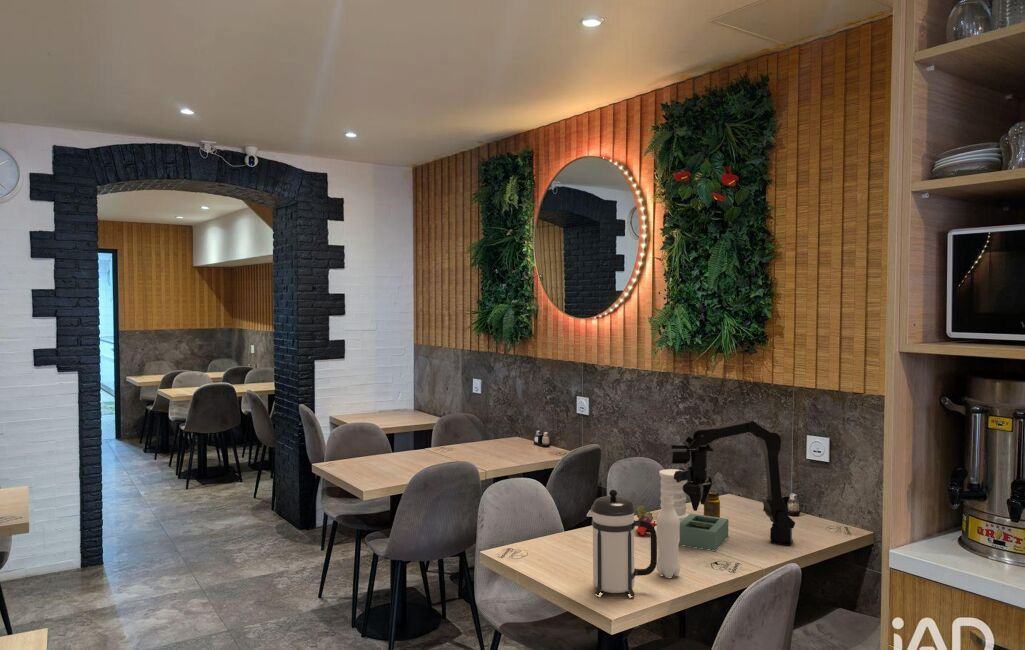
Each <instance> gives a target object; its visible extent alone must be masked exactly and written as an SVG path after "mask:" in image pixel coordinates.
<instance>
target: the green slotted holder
mask: <svg viewBox="0 0 1025 650" xmlns="http://www.w3.org/2000/svg"><path fill="white" fill-rule="evenodd" d="M696 525H699V526H706V527H711V528H710V529H709V530H707V529H700V528H696ZM727 537H728V538H729V518H725V517H720V518H719V517H712V516H705V515H704V514H703V515H702V514H698V513H697V514H696V513H689V514H688V516H687V517H686V518H684V519H683V520H682V521H680V541H679V545H678V546H681V545H685V546H684V547H687V546H691V547H690V548H693V547H697V548H696V549H699V548H703V549H702V550H705V549H710V550H715V551H714V552H717V550H718V549H719V548H720V547H721V546H722V544H723V543H725V541H726V540H727V539H728V538H727ZM726 538H727V539H726ZM725 539H726V540H725ZM720 545H721V546H720ZM719 546H720V547H719ZM718 547H719V548H718ZM717 548H718V549H717ZM716 549H717V550H716ZM710 550H709V551H710Z"/></svg>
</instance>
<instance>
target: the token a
mask: <svg viewBox="0 0 1025 650" xmlns="http://www.w3.org/2000/svg"><path fill="white" fill-rule="evenodd" d="M696 528H700V529H707V530H709V529H710V528H711V527H706V526H699V525H696Z"/></svg>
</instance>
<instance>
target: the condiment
mask: <svg viewBox="0 0 1025 650" xmlns="http://www.w3.org/2000/svg"><path fill="white" fill-rule="evenodd" d="M719 497H720V493H719V492H718V491H716V490H710V492H709V494H708V497H707V499H706V501H705V503H704V505H703V515H705V516H712V517H719V518H721V500H720V498H719Z"/></svg>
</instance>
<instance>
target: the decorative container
mask: <svg viewBox="0 0 1025 650" xmlns="http://www.w3.org/2000/svg"><path fill="white" fill-rule="evenodd" d="M679 470H681V471H683V470H682V469H676V468H675V469H674V468H672V469H670V468H668V469H667V468H666V469H661V470H659V477H660V480H659V483H660V488H659V491H660V496H659V498H660V501H661V502H660V506H659V507H660V508H661V509H662V507H663V503H662V502H663V495H664V494H670V495H673V502H674V504H673V506H674V509H675V511H676V513H677V515H678V517H679V520H683V519H684V518H686V517H687V516H688V515H689V514H688V513H687V504H686V503H687V496H686V495H687V494H686V493H685V492H683V485H684V484H685V483H687V480H684V481H680V482H678V483H677V482H676V479H674V474H675V472H676V471H679ZM661 509H660V510H661ZM659 513H660V511H658V514H659Z"/></svg>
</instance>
